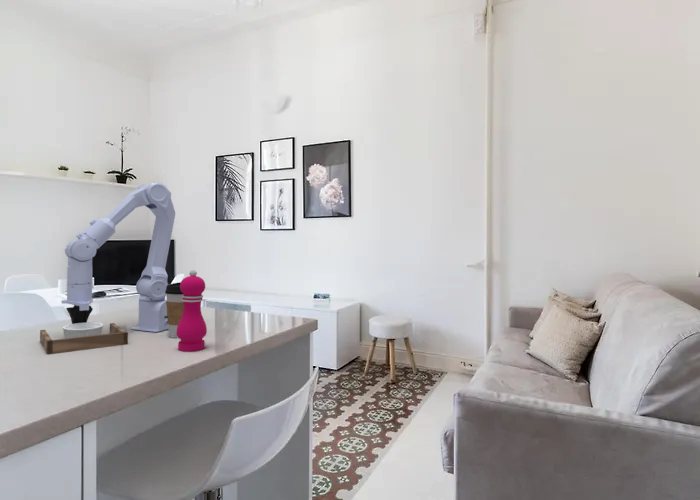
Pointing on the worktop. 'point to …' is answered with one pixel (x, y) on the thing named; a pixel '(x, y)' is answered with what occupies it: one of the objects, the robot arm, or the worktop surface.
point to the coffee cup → (174, 307)
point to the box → (84, 341)
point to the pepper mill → (192, 314)
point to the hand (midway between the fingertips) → (79, 333)
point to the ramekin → (82, 329)
